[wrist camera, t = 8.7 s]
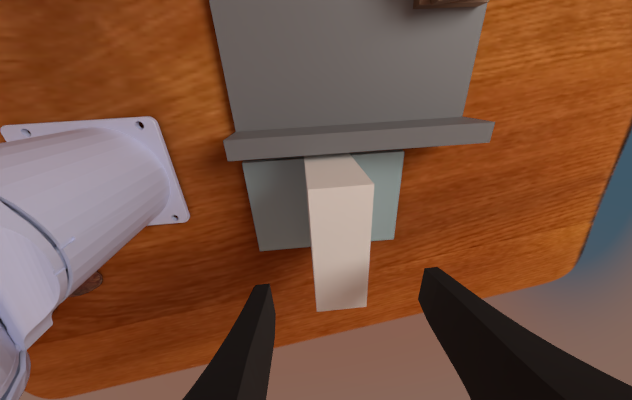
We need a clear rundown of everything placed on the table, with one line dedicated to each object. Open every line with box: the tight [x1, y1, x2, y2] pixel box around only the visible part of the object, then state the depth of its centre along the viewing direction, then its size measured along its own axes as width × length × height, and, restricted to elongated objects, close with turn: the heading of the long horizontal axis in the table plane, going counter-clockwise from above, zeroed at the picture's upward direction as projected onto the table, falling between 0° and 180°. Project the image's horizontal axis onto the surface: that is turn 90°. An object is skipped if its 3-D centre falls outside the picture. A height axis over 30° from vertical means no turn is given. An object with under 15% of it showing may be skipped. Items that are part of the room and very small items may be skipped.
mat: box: [242, 150, 404, 251], centre depth 19 cm, size 12×8×1 cm, turn 93°
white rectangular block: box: [304, 153, 374, 312], centre depth 15 cm, size 3×8×7 cm, turn 3°
